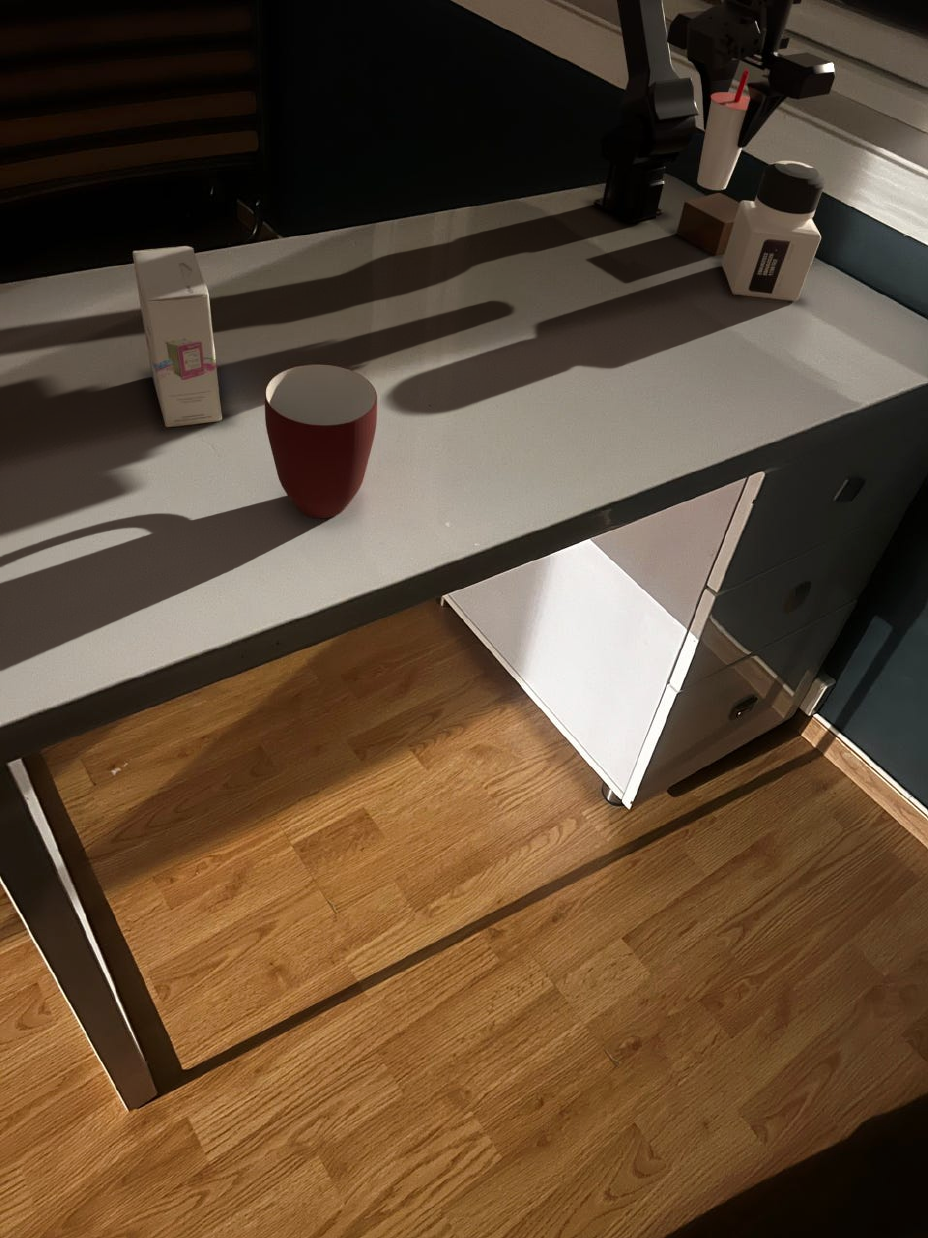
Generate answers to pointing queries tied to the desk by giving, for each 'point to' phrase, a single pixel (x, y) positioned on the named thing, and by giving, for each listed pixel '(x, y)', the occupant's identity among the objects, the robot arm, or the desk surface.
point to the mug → (320, 434)
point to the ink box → (178, 334)
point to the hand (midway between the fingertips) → (724, 138)
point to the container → (775, 234)
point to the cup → (722, 137)
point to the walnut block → (708, 222)
